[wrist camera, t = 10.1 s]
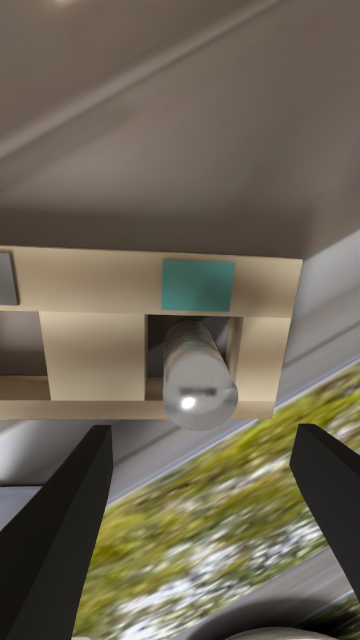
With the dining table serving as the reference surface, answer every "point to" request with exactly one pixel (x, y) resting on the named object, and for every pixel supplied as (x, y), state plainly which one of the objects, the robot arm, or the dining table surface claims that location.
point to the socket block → (140, 326)
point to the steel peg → (196, 379)
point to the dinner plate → (279, 634)
